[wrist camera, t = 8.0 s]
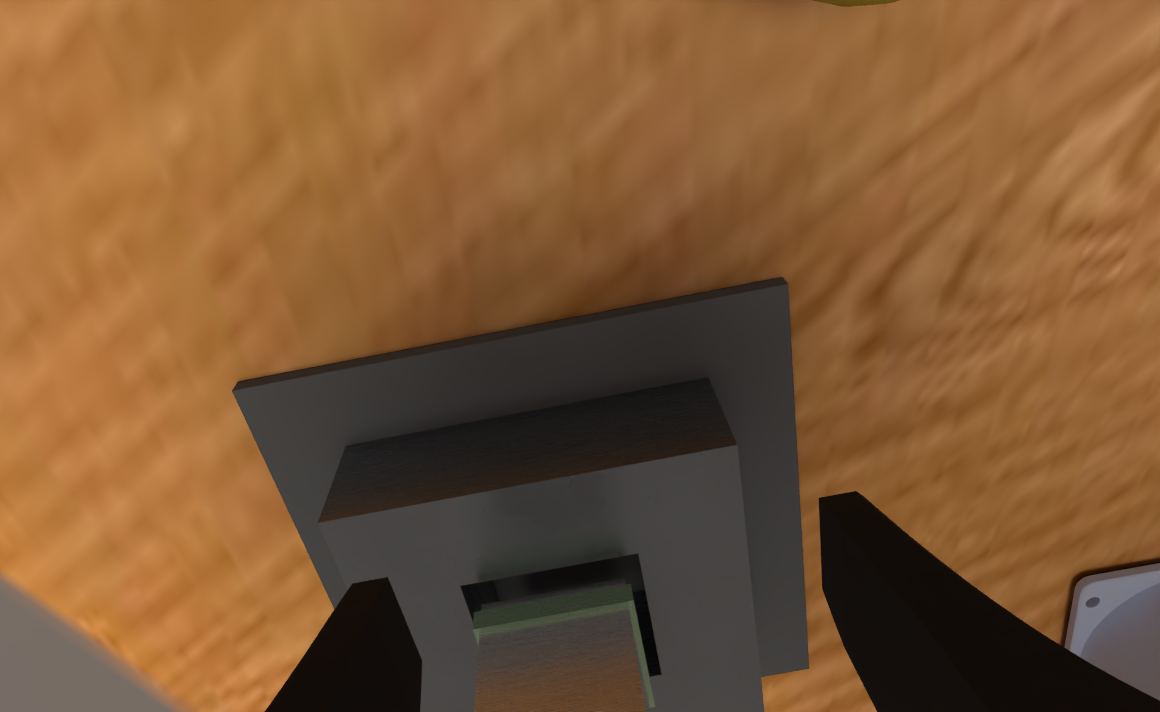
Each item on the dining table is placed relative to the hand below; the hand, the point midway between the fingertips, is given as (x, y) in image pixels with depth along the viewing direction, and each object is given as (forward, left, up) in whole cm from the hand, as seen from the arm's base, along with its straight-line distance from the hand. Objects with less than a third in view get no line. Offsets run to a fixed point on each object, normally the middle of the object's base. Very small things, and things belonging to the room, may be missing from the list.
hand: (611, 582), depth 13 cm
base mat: (-8, +2, -10) cm, 13 cm away
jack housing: (-8, +2, -10) cm, 13 cm away
